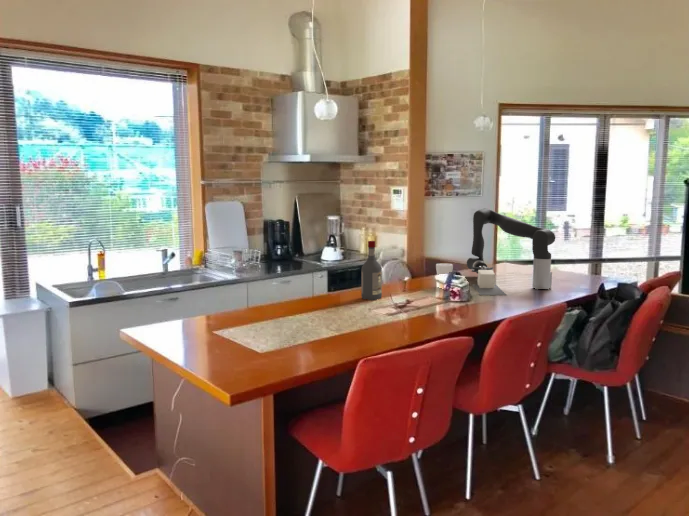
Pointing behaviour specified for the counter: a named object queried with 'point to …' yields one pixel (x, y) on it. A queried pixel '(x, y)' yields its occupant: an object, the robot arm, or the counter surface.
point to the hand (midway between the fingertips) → (485, 271)
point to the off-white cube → (486, 279)
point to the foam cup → (443, 268)
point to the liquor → (371, 276)
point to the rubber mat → (489, 290)
